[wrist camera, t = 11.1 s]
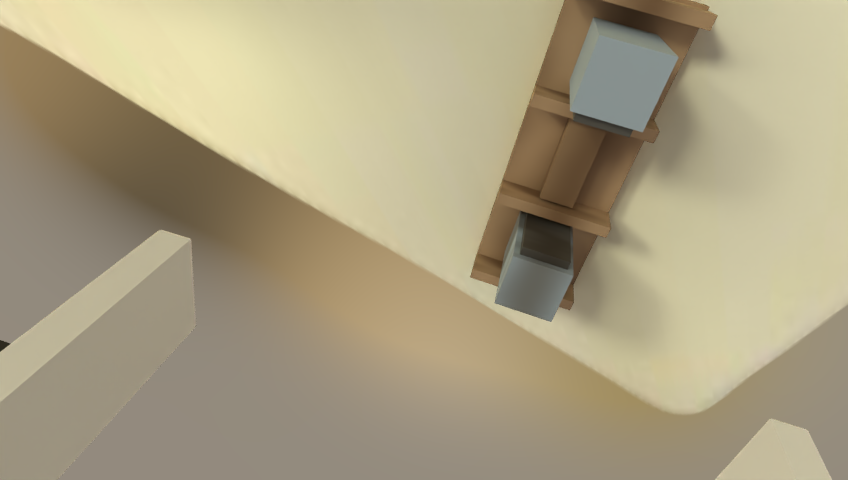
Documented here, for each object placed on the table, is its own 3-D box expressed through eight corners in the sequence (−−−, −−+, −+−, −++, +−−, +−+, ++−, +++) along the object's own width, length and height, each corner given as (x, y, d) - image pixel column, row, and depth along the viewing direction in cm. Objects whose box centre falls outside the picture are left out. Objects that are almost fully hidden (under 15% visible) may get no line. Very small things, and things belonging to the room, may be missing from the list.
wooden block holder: (475, 256, 43) (459, 315, 37) (575, -32, 32) (577, -23, 25) (568, 287, 43) (568, 352, 36) (705, 5, 31) (743, 23, 24)
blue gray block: (657, 34, 32) (678, 57, 26) (625, 107, 34) (637, 142, 28) (593, 16, 32) (599, 34, 26) (566, 89, 34) (565, 121, 28)
